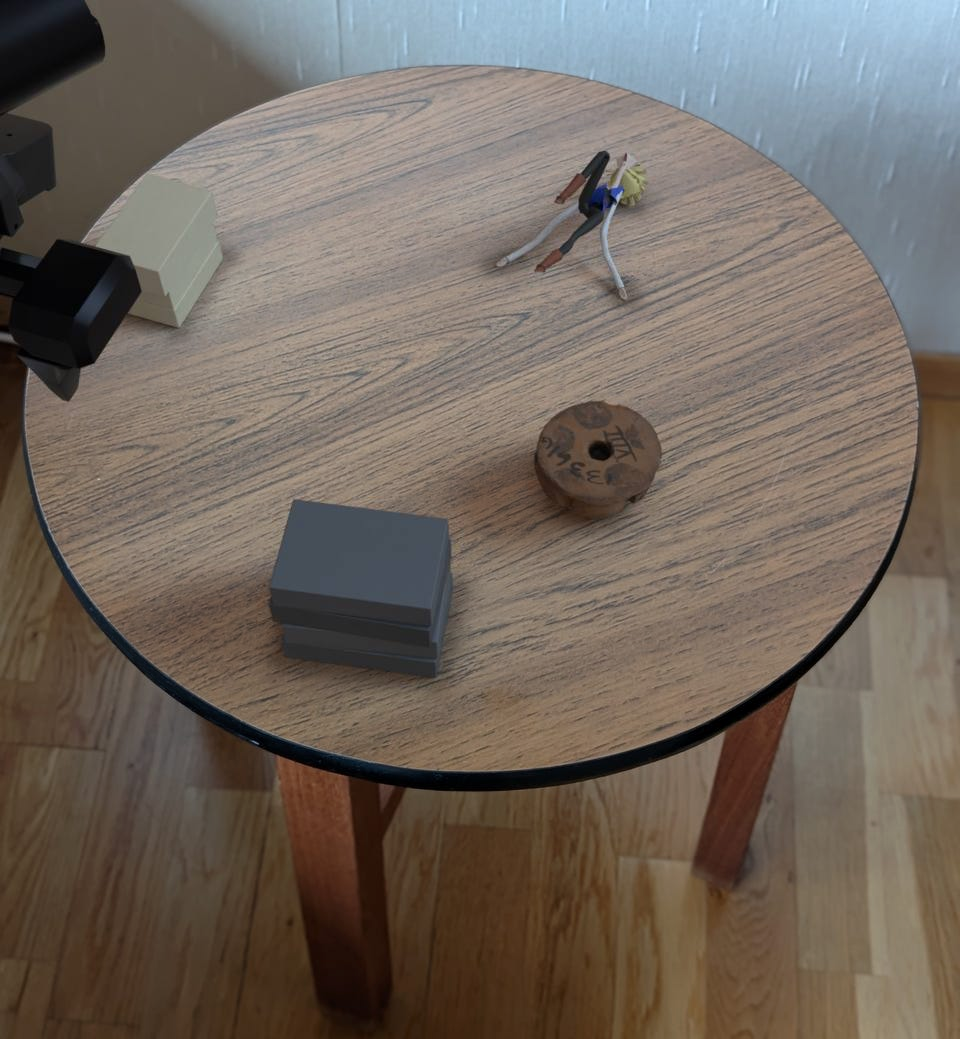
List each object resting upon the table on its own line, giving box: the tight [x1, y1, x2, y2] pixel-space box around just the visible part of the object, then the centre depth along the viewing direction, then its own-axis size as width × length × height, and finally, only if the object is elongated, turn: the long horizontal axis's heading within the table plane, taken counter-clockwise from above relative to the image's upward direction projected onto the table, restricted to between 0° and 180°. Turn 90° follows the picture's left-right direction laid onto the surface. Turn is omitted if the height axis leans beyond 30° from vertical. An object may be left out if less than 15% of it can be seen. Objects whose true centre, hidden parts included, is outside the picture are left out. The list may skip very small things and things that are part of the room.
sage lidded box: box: [127, 223, 224, 329], centre depth 92 cm, size 7×5×4 cm
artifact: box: [533, 400, 663, 521], centre depth 82 cm, size 8×8×5 cm
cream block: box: [94, 173, 219, 296], centre depth 90 cm, size 8×5×2 cm, turn 160°
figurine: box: [495, 150, 673, 301], centre depth 93 cm, size 10×9×20 cm
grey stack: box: [268, 498, 454, 679], centre depth 76 cm, size 9×6×8 cm
